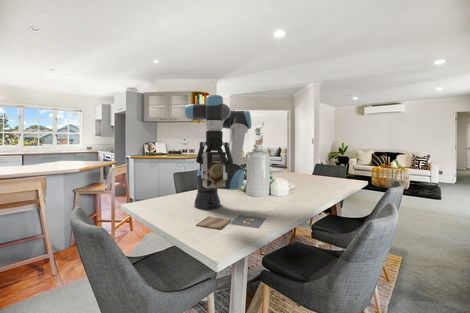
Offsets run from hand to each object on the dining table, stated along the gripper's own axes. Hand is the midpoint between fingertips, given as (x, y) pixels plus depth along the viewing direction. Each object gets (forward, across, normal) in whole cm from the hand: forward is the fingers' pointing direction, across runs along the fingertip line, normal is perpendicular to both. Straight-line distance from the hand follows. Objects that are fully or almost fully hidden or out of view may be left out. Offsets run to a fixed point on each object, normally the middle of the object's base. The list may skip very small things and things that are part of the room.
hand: (214, 178), depth 107 cm
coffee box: (+4, 0, 0) cm, 4 cm away
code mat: (+21, +14, +9) cm, 27 cm away
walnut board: (+21, 0, 0) cm, 21 cm away
